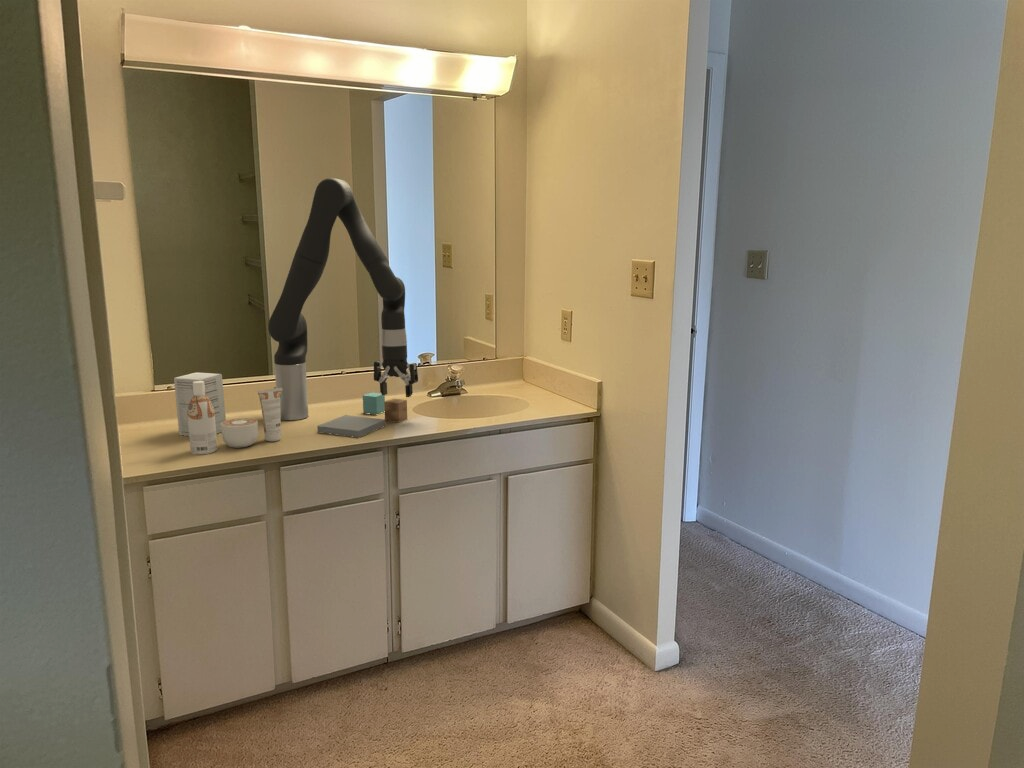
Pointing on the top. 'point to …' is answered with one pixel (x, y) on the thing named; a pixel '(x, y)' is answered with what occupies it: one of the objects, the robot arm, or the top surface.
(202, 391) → the cosmetic set
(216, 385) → the supplement box
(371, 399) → the teal block
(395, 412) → the walnut block
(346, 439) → the top surface
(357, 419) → the slate base
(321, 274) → the robot arm
